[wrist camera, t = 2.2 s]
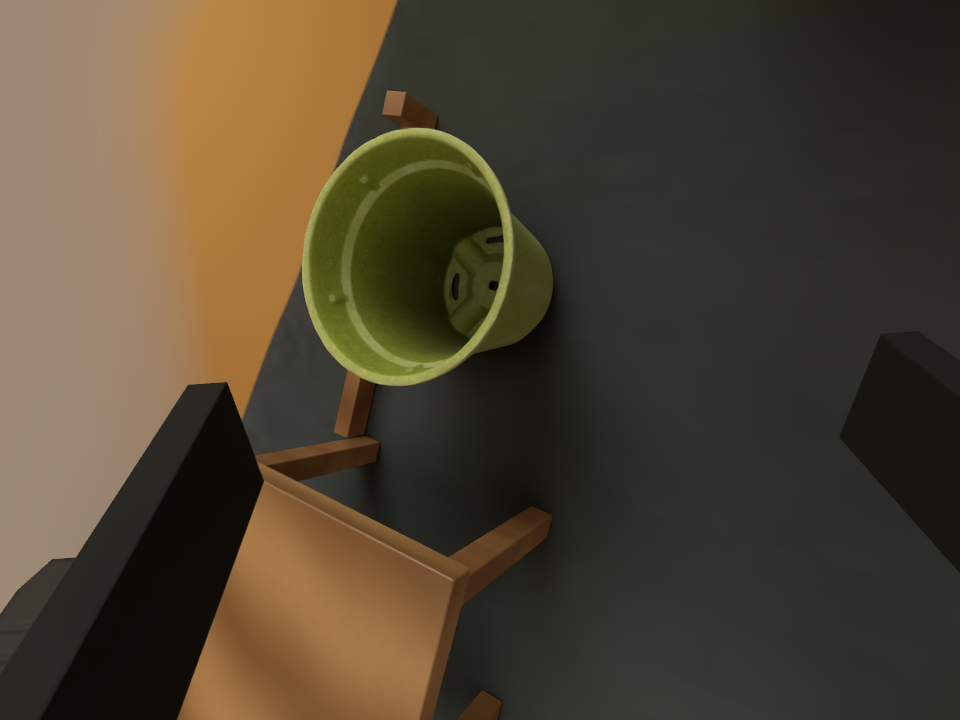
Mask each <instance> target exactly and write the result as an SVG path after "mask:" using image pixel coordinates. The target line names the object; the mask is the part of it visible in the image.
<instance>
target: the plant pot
mask: <svg viewBox="0 0 960 720" xmlns="http://www.w3.org/2000/svg"><path fill="white" fill-rule="evenodd" d="M500 235H503V237H504V243H500V242H498V243H490V244H487V243H486V241H487V239H488V238H489V237H497V236H500ZM457 273H458V274H459V275H460V278H459V285H458V294H459V297H458V299H457V300H455V299H454V298H453V294H452V285H453V279H454V277H455V275H456V274H457ZM302 279H303V288H304V295H305V300H306V304H307V306H308V310H309V314H310V317H311V319H312V322H313V325H314V327H315V329H316V331H317V333H318V335H319V336H320V338H321V340H322V342H323V344H324V345H325V347H326V349H327V350H328V351H329V352H330V353H331V354H332V356H333V357H334V358H335V359H336V360H337V361H338V362H339V363H340V364H341V365H342V366H344V367H345V368H346V369H348V370H349V371H351V372H352V373H354V374H355V375H357V376H359V377H361V378H363V379H365V380H367V381H370V382H373V383H377V384H382V385H388V386H408V385H415V384H419V383H424V382H427V381H430V380H433V379H435V378H438V377H440V376H442V375H444V374H446V373H448V372H449V371H451V370H453V369H454V368H456V367H457V366H459V365H460V364H461V363H463V362H464V361H465V360H466V359H467V358H468V357H470V356H471V355H472V354H475V353H479V352H483V351H487V350H491V349H495V348H499V347H503V346H507V345H511V344H513V343H516V342H518V341H520V340H521V339H523V338H524V337H525V336H526V335H527V334H528V333H530V332H531V331H532V330H533V329H534V328H535V327H536V326H537V324H538V323H539V322H540V321H541V320H542V319H543V317H544V315H545V314H546V311H547V309H548V307H549V304H550V301H551V296H552V291H553V273H552V267H551V264H550V261H549V258H548V256H547V254H546V252H545V250H544V249H543V247H542V246H541V244H540V243H539V242H538V240H537V239H536V238H535V237H534V236H533V235H532V234H531V233H530V232H529V231H528V230H527V229H526V228H525V227H524V226H523V225H522V224H521V222H520V221H519V220H518V219H517V218H516V217H515V216H514V215H513V214H512V213H511V210H510V206H509V203H508V200H507V198H506V195H505V192H504V190H503V188H502V186H501V184H500V182H499V180H498V178H497V177H496V175H495V173H494V172H493V171H492V169H491V168H490V166H489V165H488V164H487V163H486V161H485V160H484V159H483V158H482V157H481V156H480V155H479V154H478V153H477V152H476V151H475V150H474V149H473V148H471V147H470V146H469V145H468V144H466V143H465V142H463V141H461V140H460V139H458V138H456V137H454V136H452V135H450V134H447V133H444V132H441V131H438V130H434V129H428V128H408V129H403V130H396V131H392V132H389V133H386V134H383V135H381V136H379V137H377V138H375V139H373V140H371V141H369V142H367V143H365V144H363V145H362V146H361V147H359V148H358V149H357V150H355V151H354V152H353V153H352V154H351V155H350V156H349V157H348V158H347V159H346V160H345V161H344V162H343V163H342V164H341V165H340V166H339V167H338V168H337V169H336V170H335V171H334V173H333V174H332V176H331V177H330V178H329V180H328V181H327V183H326V185H325V186H324V188H323V190H322V191H321V193H320V195H319V197H318V199H317V201H316V204H315V206H314V209H313V211H312V214H311V216H310V220H309V224H308V227H307V231H306V236H305V240H304V251H303V260H302ZM491 281H497V283H498V284H499V287H498V288H497V289H496V290H491V289H489V284H490V282H491Z"/></svg>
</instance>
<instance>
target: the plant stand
mask: <svg viewBox="0 0 960 720" xmlns="http://www.w3.org/2000/svg"><path fill="white" fill-rule="evenodd" d="M382 115H384V116H385V117H387V118H388V119H390V120H391V121H393V122H394V123H396V124H397V125H399V126H400V127H401V129H400V130H403V129H408V128H428V129H434V130H435V126H436V121H437V115H435V114H434V113H433V112H431V111H430V110H429V109H427V108H426V107H425V106H424V105H422V104H421V103H420V102H418V101H417V100H416V99H414V98H413V97H412V96H410V95H409V94H408V93H407V92H398V91H387V94H386V99H385V103H384V108H383V113H382ZM375 384H376V383H373V382H370V381H367V380H365V379H363V378H361V377H359V376H357V375H355V374H354V373H352V372H351V371H349V370H347V375H346V379H345V384H344V388H343V393H342V397H341V402H340V407H339V411H338V416H337V420H336V425H335V429H334V432H335V433H337V434H339V435H342V436H344V437H346V438H348V437H354V436H360V435H364V432H365V428H366V423H367V419H368V415H369V410H370V406H371V401H372V397H373V392H374V388H375ZM379 445H380V442H378V441H376V440H373V439H371V438H369V437H366V436H360V437H354V438H349V439H343V440H338V441H332V442H327V443H321V444H316V445H310V446H305V447H299V448H293V449H288V450H282V451H277V452H271V453H266V454H260V455H255V458H256V461H257V463H258V466H259V469H260V471H261V474H262V477H263V479H264V483H263V486H262V489H261V492H260V494H259V497H258V500H257V502H256V505H255V508H254V511H253V513H252V516H251V519H250V522H249V524H248V527H247V530H246V533H245V535H244V538H243V541H242V543H241V546H240V549H239V552H238V554H237V557H236V560H235V563H234V565H233V568H232V571H231V574H230V576H229V579H228V582H227V585H226V587H225V590H224V593H223V595H222V598H221V601H220V604H219V606H218V609H217V612H216V615H215V617H214V620H213V623H212V626H211V628H210V631H209V634H208V636H207V639H206V642H205V645H204V647H203V650H202V653H201V656H200V658H199V661H198V664H197V667H196V669H195V672H194V675H193V677H192V680H191V683H190V686H189V688H188V691H187V694H186V697H185V699H184V702H183V705H182V708H181V710H180V713H179V716H178V718H177V720H432V719H433V715H434V711H435V707H436V703H437V699H438V695H439V691H440V687H441V683H442V680H443V676H444V672H445V668H446V664H447V660H448V656H449V652H450V648H451V645H452V641H453V637H454V633H455V629H456V625H457V621H458V617H459V613H460V609H461V606H463V605H464V604H465V603H466V602H468V601H469V600H470V599H471V598H473V597H474V596H475V595H476V594H478V593H479V592H480V591H481V590H482V589H484V588H485V587H486V586H487V585H489V584H490V583H491V582H492V581H494V580H495V579H496V578H497V577H499V576H500V575H501V574H502V573H503V572H505V571H506V570H507V569H508V568H510V567H511V566H512V565H513V564H515V563H516V562H517V561H518V560H520V559H521V558H522V557H523V556H524V555H526V554H527V553H528V552H529V551H531V550H532V549H533V548H534V547H536V546H537V545H538V544H539V543H540V542H542V541H543V540H544V539H545V538H547V536H548V532H549V528H550V525H551V521H552V517H553V516H552V515H551V514H549V513H547V512H544V511H542V510H540V509H537V508H535V507H532V506H531V507H529V508H527V509H526V510H524V511H522V512H521V513H519V514H518V515H516V516H514V517H513V518H511V519H510V520H508V521H506V522H505V523H503V524H501V525H500V526H498V527H497V528H495V529H493V530H492V531H490V532H489V533H487V534H485V535H484V536H482V537H480V538H479V539H477V540H476V541H474V542H472V543H471V544H469V545H468V546H466V547H464V548H463V549H461V550H459V551H458V552H456V553H455V554H453V555H451V556H450V557H446V556H444V555H442V554H440V553H438V552H436V551H434V550H432V549H430V548H428V547H426V546H424V545H422V544H420V543H418V542H416V541H414V540H412V539H410V538H408V537H406V536H405V535H403V534H401V533H399V532H397V531H395V530H393V529H391V528H389V527H387V526H385V525H383V524H381V523H379V522H377V521H375V520H373V519H371V518H369V517H367V516H365V515H363V514H361V513H359V512H357V511H355V510H353V509H351V508H349V507H347V506H345V505H343V504H341V503H339V502H337V501H335V500H333V499H331V498H329V497H327V496H325V495H323V494H321V493H319V492H317V491H315V490H313V489H311V488H309V487H307V486H305V485H303V484H301V483H299V482H297V481H301V480H305V479H309V478H313V477H317V476H321V475H325V474H329V473H333V472H337V471H341V470H344V469H348V468H352V467H356V466H360V465H364V464H368V463H372V462H375V461H376V458H377V453H378V449H379ZM501 705H502V702H501V701H500V700H498V699H497V698H495V697H493V696H492V695H490V694H488V693H487V692H485V691H483V690H482V691H481V692H480V693H479V694H478V695H477V697H476V698H475V699H474V700H473V701H472V702H471V704H470V705H469V706H468V707H467V708H466V709H465V711H464V712H463V713H462V714H461V715H460V716H459V718H458V719H457V720H498V716H499V712H500V709H501Z"/></svg>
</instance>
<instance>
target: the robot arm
mask: <svg viewBox="0 0 960 720" xmlns="http://www.w3.org/2000/svg"><path fill="white" fill-rule="evenodd" d="M839 438H840V439H841V440H842V441H843V442H844V443H845V444H846V446H847V447H848V448H849V449H850V450H851V451H852V452H853V453H854V454H855V456H856V457H857V458H858V459H859V460H860V461H861V462H862V463H863V465H864V466H865V467H866V468H867V469H868V470H869V471H870V472H871V474H872V475H873V476H874V477H875V478H876V479H877V480H878V481H879V483H880V484H881V485H882V486H883V487H884V488H885V489H886V490H887V492H888V493H889V494H890V495H891V496H892V497H893V498H894V499H895V501H896V502H897V503H898V504H899V505H900V506H901V507H902V508H903V509H904V511H905V512H906V513H907V514H908V515H909V516H910V517H911V518H912V520H913V521H914V522H915V523H916V524H917V525H918V526H919V527H920V529H921V530H922V531H923V532H924V533H925V534H926V535H927V536H928V538H929V539H930V540H931V541H932V542H933V543H934V544H935V545H936V547H937V548H938V549H939V550H940V551H941V552H942V553H943V554H944V556H945V557H946V558H947V559H948V560H949V561H950V562H951V563H952V565H953V566H954V567H955V568H956V569H957V570H958V571H959V572H960V361H959V360H958V359H956V358H955V357H954V356H952V355H951V354H949V353H948V352H947V351H945V350H944V349H942V348H941V347H940V346H938V345H937V344H935V343H934V342H933V341H931V340H930V339H928V338H927V337H926V336H924V335H923V334H921V333H920V332H919V331H916V332H903V333H889V334H881V335H880V338H879V340H878V343H877V345H876V348H875V350H874V353H873V355H872V358H871V360H870V362H869V365H868V367H867V370H866V372H865V375H864V377H863V380H862V382H861V385H860V387H859V389H858V392H857V394H856V397H855V399H854V402H853V404H852V407H851V409H850V411H849V414H848V416H847V419H846V421H845V424H844V426H843V429H842V431H841V434H840V436H839ZM263 483H264V479H263V477H262V474H261V471H260V469H259V466H258V463H257V461H256V458H255V455H254V453H253V450H252V447H251V445H250V442H249V439H248V437H247V434H246V431H245V429H244V426H243V423H242V421H241V418H240V415H239V413H238V410H237V407H236V405H235V402H234V399H233V397H232V394H231V392H230V389H229V386H228V383H227V382H223V383H209V384H196V385H188V386H187V387H186V389H185V391H184V392H183V394H182V395H181V397H180V398H179V400H178V401H177V403H176V404H175V406H174V407H173V409H172V411H171V412H170V414H169V415H168V417H167V418H166V420H165V421H164V423H163V424H162V426H161V428H160V429H159V431H158V432H157V434H156V435H155V437H154V438H153V440H152V441H151V443H150V445H149V446H148V447H147V449H146V451H145V452H144V454H143V455H142V457H141V458H140V460H139V461H138V463H137V464H136V466H135V468H134V469H133V471H132V472H131V474H130V475H129V477H128V478H127V480H126V481H125V483H124V485H123V486H122V487H121V489H120V491H119V492H118V494H117V495H116V497H115V498H114V500H113V501H112V503H111V504H110V506H109V507H108V509H107V511H106V512H105V514H104V515H103V517H102V518H101V520H100V522H99V523H98V525H97V526H96V527H95V529H94V531H93V532H92V534H91V535H90V537H89V538H88V540H87V541H86V543H85V544H84V546H83V548H82V549H81V551H80V552H79V554H78V555H77V557H76V558H64V559H52V560H51V561H50V562H49V563H48V564H46V565H45V566H44V567H43V568H42V569H41V570H40V571H39V572H37V573H36V574H35V575H34V576H33V577H32V578H31V579H30V580H28V581H27V582H26V583H25V584H24V585H23V586H22V587H21V588H20V589H18V590H17V592H16V593H15V594H14V596H13V597H12V599H11V600H10V602H9V603H8V604H7V606H6V607H5V608H4V610H3V611H2V613H1V614H0V720H177V718H178V716H179V713H180V710H181V708H182V705H183V702H184V699H185V697H186V694H187V691H188V688H189V686H190V683H191V680H192V677H193V675H194V672H195V669H196V667H197V664H198V661H199V658H200V656H201V653H202V650H203V647H204V645H205V642H206V639H207V636H208V634H209V631H210V628H211V626H212V623H213V620H214V617H215V615H216V612H217V609H218V606H219V604H220V601H221V598H222V595H223V593H224V590H225V587H226V585H227V582H228V579H229V576H230V574H231V571H232V568H233V565H234V563H235V560H236V557H237V554H238V552H239V549H240V546H241V543H242V541H243V538H244V535H245V533H246V530H247V527H248V524H249V522H250V519H251V516H252V513H253V511H254V508H255V505H256V502H257V500H258V497H259V494H260V492H261V489H262V486H263Z"/></svg>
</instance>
